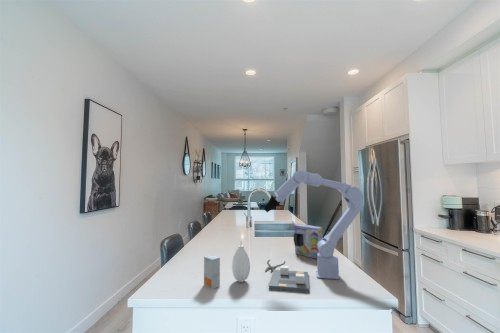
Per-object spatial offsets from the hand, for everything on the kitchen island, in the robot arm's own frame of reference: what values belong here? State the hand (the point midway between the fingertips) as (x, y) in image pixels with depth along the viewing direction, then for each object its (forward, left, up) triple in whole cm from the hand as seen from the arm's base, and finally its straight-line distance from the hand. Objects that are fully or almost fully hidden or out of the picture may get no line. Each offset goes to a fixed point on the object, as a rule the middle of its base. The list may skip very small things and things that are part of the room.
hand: (265, 209), depth 124 cm
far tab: (-9, +4, -28) cm, 30 cm away
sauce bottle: (+10, +12, -30) cm, 34 cm away
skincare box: (+21, +19, -30) cm, 41 cm away
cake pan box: (-20, -33, -30) cm, 50 cm away
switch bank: (-11, +8, -30) cm, 33 cm away
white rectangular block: (-16, +13, -28) cm, 35 cm away
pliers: (-3, -11, -31) cm, 33 cm away
